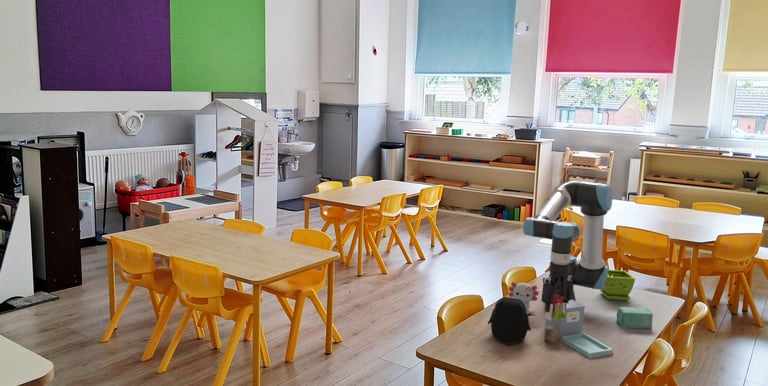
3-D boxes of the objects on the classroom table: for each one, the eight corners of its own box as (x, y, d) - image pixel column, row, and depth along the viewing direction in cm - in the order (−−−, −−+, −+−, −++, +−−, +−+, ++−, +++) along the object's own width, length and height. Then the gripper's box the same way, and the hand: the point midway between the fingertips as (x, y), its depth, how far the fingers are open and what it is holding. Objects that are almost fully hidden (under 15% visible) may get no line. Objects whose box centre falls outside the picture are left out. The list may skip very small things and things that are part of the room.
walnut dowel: (541, 340, 260) (543, 326, 259) (551, 339, 262) (552, 325, 261) (549, 345, 255) (550, 331, 254) (559, 343, 257) (560, 330, 256)
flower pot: (633, 302, 311) (635, 278, 309) (605, 301, 311) (607, 277, 309) (622, 293, 325) (625, 269, 322) (596, 291, 325) (598, 268, 322)
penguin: (531, 333, 266) (535, 295, 263) (527, 350, 250) (530, 309, 247) (490, 326, 272) (493, 289, 269) (482, 342, 255) (485, 302, 252)
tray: (561, 340, 260) (561, 336, 260) (583, 337, 265) (584, 333, 264) (589, 358, 245) (589, 353, 244) (612, 354, 250) (613, 349, 249)
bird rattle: (542, 323, 247) (560, 322, 240) (535, 296, 248) (553, 293, 241) (551, 320, 250) (570, 318, 243) (545, 293, 252) (563, 290, 245)
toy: (505, 314, 287) (508, 283, 285) (508, 308, 295) (511, 278, 292) (535, 319, 282) (538, 288, 280) (538, 314, 290) (541, 283, 287)
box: (615, 321, 285) (617, 305, 284) (645, 323, 285) (647, 307, 283) (621, 327, 278) (623, 312, 276) (651, 329, 278) (653, 313, 276)
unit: (543, 329, 272) (546, 300, 270) (565, 325, 277) (568, 298, 274) (559, 338, 262) (562, 309, 260) (582, 335, 267) (585, 306, 265)
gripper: (546, 266, 235) (541, 324, 240) (585, 263, 242) (579, 319, 247) (534, 261, 242) (529, 317, 247) (572, 257, 249) (567, 312, 254)
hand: (554, 318), depth 247 cm, fingers closed on bird rattle, 5 cm apart
